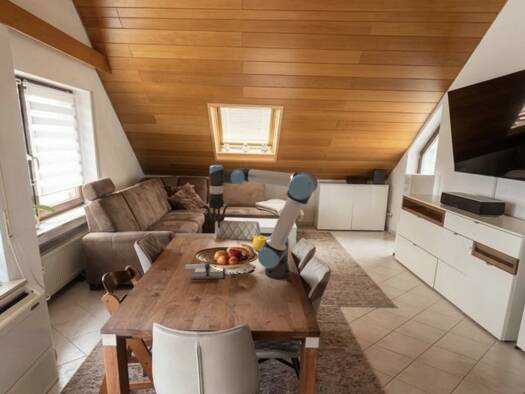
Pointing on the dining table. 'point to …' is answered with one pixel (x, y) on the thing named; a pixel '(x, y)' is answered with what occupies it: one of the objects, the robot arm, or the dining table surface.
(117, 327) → the dining table surface
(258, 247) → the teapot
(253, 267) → the dining table surface
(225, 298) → the dining table surface
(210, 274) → the server plate
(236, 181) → the robot arm
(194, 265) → the cable arm
